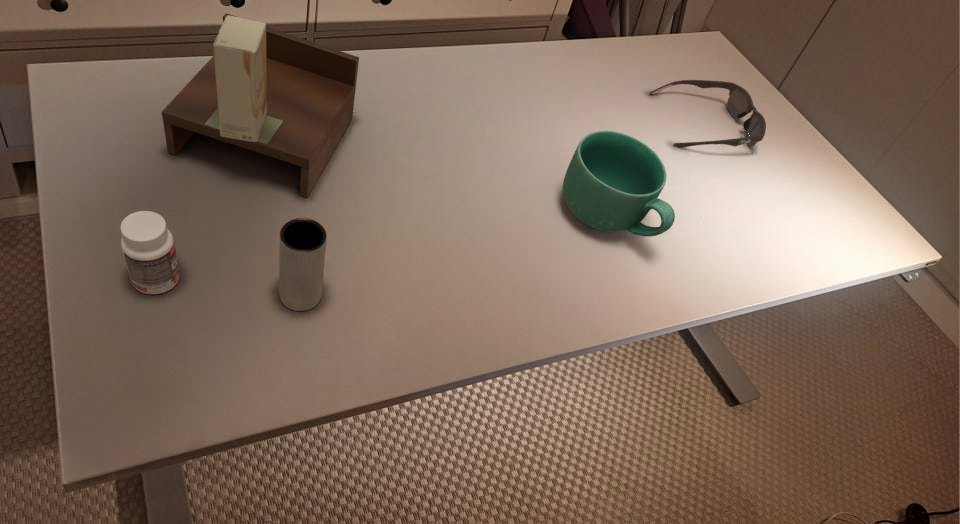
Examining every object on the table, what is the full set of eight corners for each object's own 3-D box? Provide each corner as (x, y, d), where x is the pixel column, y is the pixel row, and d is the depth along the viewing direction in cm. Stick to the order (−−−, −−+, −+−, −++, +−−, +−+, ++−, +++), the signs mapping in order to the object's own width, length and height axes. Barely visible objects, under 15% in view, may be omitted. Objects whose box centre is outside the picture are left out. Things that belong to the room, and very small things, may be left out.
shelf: (307, 198, 82) (310, 133, 74) (167, 153, 81) (156, 83, 74) (352, 120, 94) (359, 57, 86) (230, 80, 93) (226, 12, 85)
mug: (537, 190, 93) (559, 139, 86) (601, 171, 100) (626, 122, 93) (609, 276, 86) (639, 228, 79) (673, 249, 92) (706, 202, 85)
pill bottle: (186, 286, 70) (177, 235, 64) (139, 301, 68) (125, 250, 62) (171, 255, 72) (161, 202, 66) (124, 268, 70) (110, 215, 64)
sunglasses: (763, 159, 112) (777, 137, 108) (672, 160, 109) (682, 136, 105) (728, 98, 122) (739, 76, 118) (643, 97, 119) (652, 74, 115)
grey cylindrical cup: (293, 318, 71) (295, 258, 63) (271, 289, 73) (270, 227, 65) (329, 300, 73) (335, 240, 66) (307, 273, 75) (310, 211, 67)
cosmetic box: (257, 144, 77) (255, 54, 68) (219, 137, 76) (211, 45, 67) (268, 110, 81) (267, 21, 72) (231, 103, 80) (226, 12, 71)
